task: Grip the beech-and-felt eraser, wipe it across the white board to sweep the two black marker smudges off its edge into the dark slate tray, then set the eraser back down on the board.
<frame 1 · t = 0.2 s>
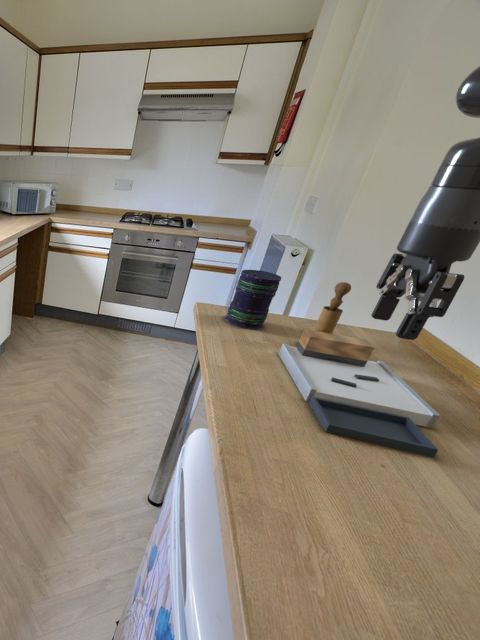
hand: (391, 328, 64), 21 cm above the countertop, tool pointing down, fingers open, 8 cm apart
board: (343, 385, 91), on the countertop
tray: (365, 427, 76), on the countertop
smudge a: (366, 378, 89), point 2 cm above the countertop, touching board
smudge b: (343, 383, 86), point 2 cm above the countertop, touching board
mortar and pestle: (314, 348, 108), on the countertop
eraser: (328, 356, 98), point 2 cm above the countertop, touching board
storage jar: (243, 323, 123), on the countertop
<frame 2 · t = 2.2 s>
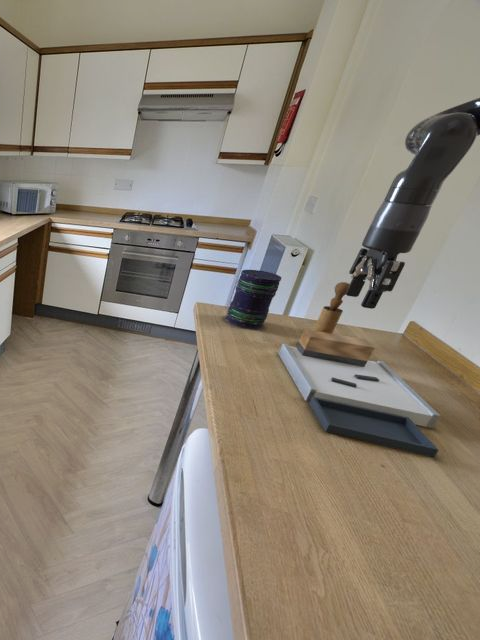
hand: (358, 301, 90), 17 cm above the countertop, tool pointing down, fingers open, 8 cm apart
nothing on the countertop moved.
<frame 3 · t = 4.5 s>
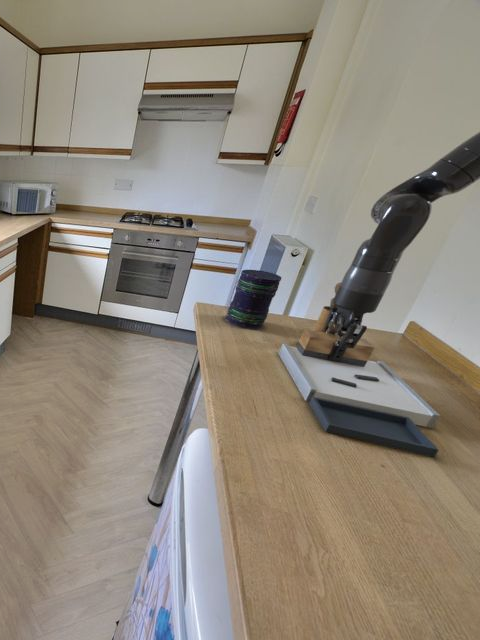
hand: (329, 355, 98), 3 cm above the countertop, tool pointing down, fingers closed on eraser, 5 cm apart
eraser: (328, 356, 98), point 2 cm above the countertop, touching board, gripper
everything else where it was.
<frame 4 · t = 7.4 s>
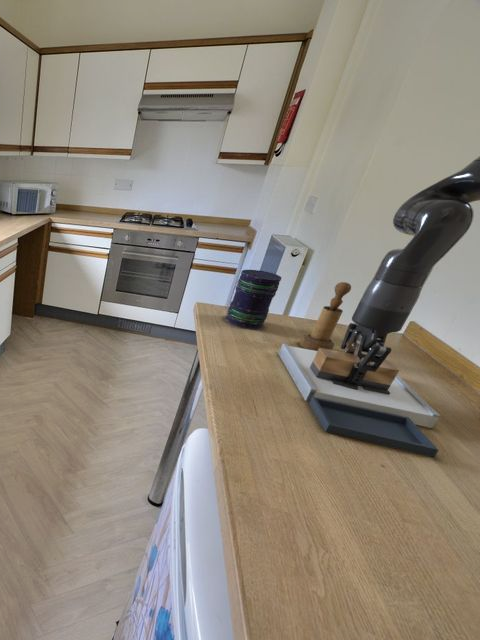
hand: (347, 377, 88), 3 cm above the countertop, tool pointing down, fingers closed on eraser, 5 cm apart
smudge a: (375, 390, 84), point 3 cm above the countertop, touching eraser
smudge b: (344, 385, 85), point 3 cm above the countertop, touching gripper
eraser: (346, 378, 88), point 3 cm above the countertop, touching gripper, smudge a
everything else where it was.
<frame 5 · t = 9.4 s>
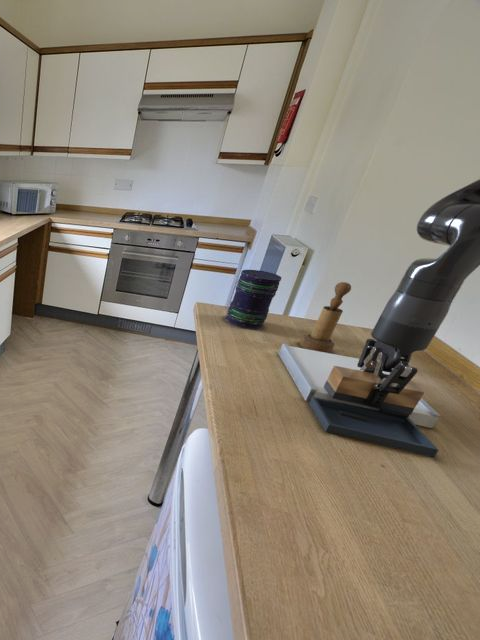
hand: (365, 398, 80), 3 cm above the countertop, tool pointing down, fingers closed on eraser, 5 cm apart
smudge a: (393, 412, 77), point 2 cm above the countertop, tilted 124°, touching eraser, tray
smudge b: (352, 416, 79), resting on tray
eraser: (364, 400, 80), point 3 cm above the countertop, touching gripper, smudge a
everything else where it was.
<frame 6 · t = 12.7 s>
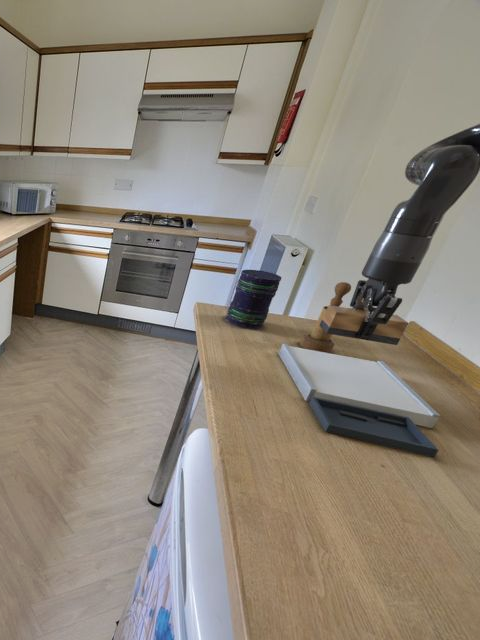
hand: (356, 333, 88), 11 cm above the countertop, tool pointing down, fingers closed on eraser, 5 cm apart
smudge a: (391, 419, 78), point 1 cm above the countertop, tilted 180°, touching tray
eraser: (356, 335, 88), point 11 cm above the countertop, touching gripper
everything else where it was.
when the fingers open (3 cm above the countertop, at t = 15.1 s): eraser stays where it is, resting on board.
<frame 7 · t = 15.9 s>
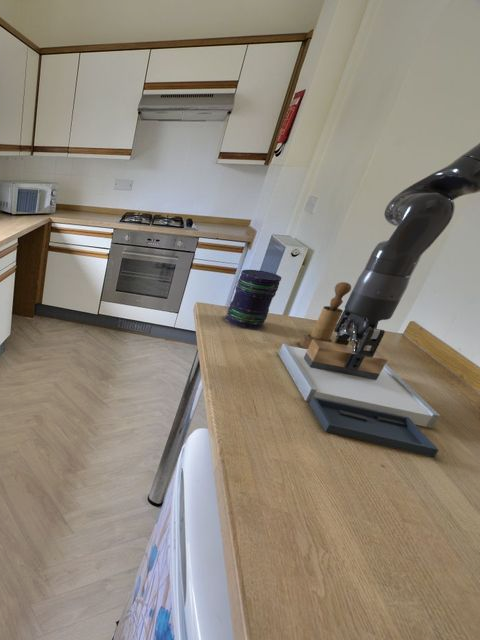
hand: (342, 361, 92), 4 cm above the countertop, tool pointing down, fingers open, 8 cm apart
eraser: (338, 368, 92), point 2 cm above the countertop, touching board
everything else where it was.
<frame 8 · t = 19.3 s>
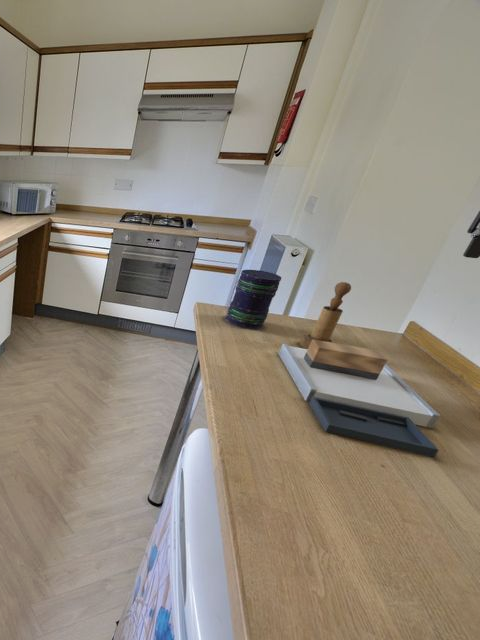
nothing on the countertop moved.
at the end: smudge a inside the target area in the tray (6.2 cm from its centre), point 0.9 cm above the tray's base; smudge b inside the target area in the tray (3.0 cm from its centre), point 0.4 cm above the tray's base; eraser inside the target area on the board (3.2 cm from its centre), point 2.5 cm above the board's base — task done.
